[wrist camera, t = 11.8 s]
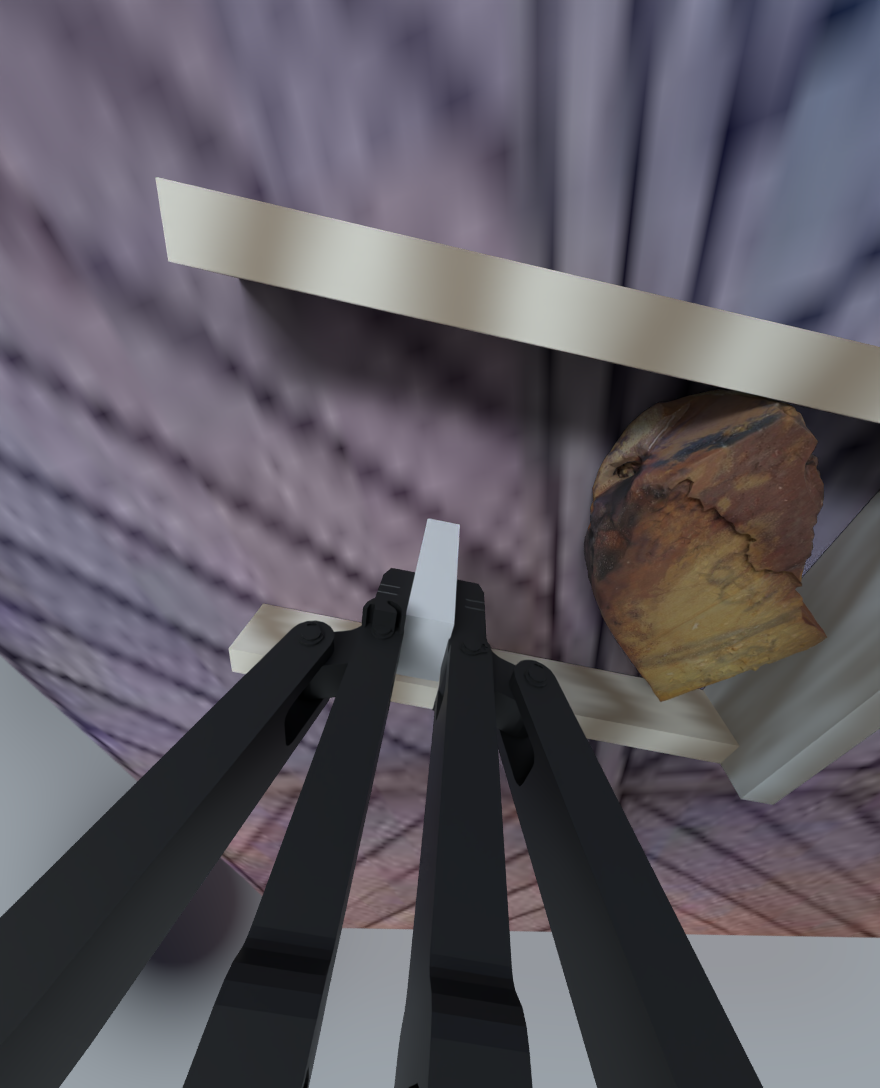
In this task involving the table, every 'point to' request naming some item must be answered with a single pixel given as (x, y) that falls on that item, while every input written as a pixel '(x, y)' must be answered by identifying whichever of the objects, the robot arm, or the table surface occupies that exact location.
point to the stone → (706, 538)
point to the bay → (634, 341)
